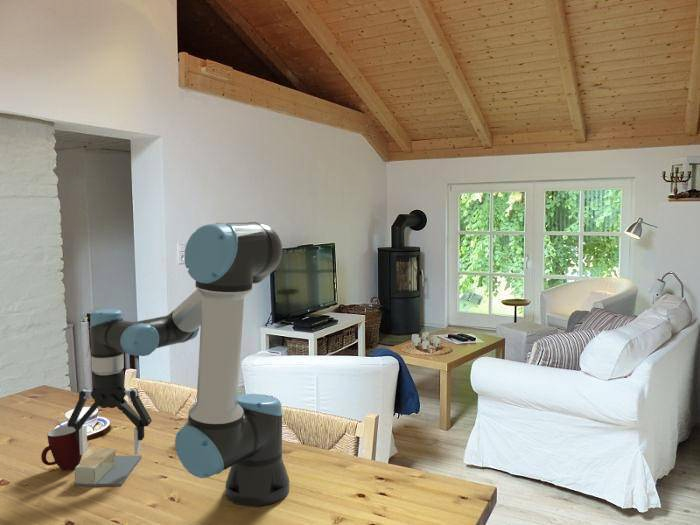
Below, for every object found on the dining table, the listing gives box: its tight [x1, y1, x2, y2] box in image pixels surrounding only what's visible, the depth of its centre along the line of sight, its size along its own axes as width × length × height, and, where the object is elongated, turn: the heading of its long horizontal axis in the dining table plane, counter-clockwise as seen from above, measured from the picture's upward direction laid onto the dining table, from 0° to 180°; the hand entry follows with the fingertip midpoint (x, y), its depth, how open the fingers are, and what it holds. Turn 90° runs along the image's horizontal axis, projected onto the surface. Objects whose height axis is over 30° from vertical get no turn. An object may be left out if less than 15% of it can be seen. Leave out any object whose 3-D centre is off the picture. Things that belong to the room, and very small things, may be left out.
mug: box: [40, 424, 83, 471], centre depth 149 cm, size 10×8×10 cm
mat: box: [74, 454, 142, 487], centre depth 149 cm, size 11×16×1 cm
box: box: [74, 448, 117, 484], centre depth 146 cm, size 5×4×11 cm
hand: (110, 452), depth 148 cm, fingers open, 13 cm apart
